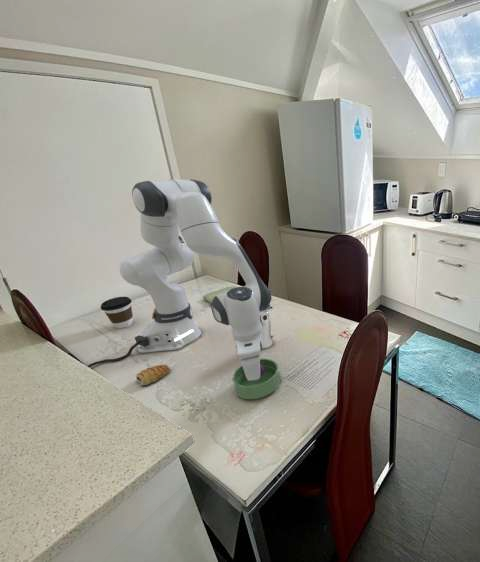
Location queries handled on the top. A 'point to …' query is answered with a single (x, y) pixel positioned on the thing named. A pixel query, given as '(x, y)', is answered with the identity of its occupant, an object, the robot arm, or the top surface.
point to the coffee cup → (119, 311)
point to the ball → (261, 370)
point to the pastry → (152, 374)
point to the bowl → (257, 381)
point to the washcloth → (216, 293)
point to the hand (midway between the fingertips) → (256, 372)
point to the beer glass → (266, 328)
